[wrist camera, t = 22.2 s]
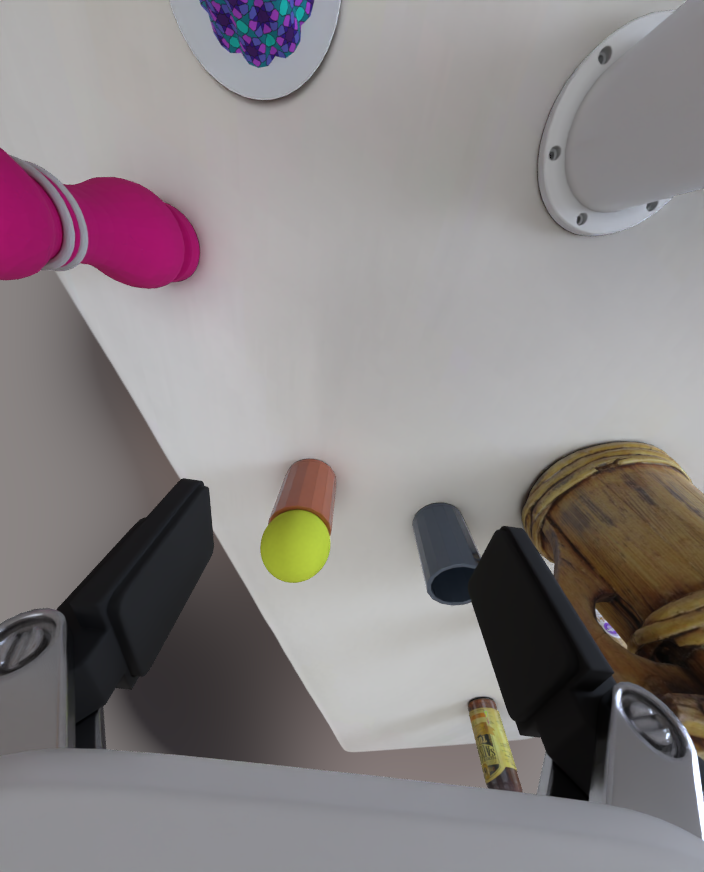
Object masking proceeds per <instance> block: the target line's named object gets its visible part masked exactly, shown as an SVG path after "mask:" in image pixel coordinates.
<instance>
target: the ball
mask: <svg viewBox="0 0 704 872" xmlns="http://www.w3.org/2000/svg"><path fill="white" fill-rule="evenodd" d="M260 550H261V557H262V561H263V563H264V565H265V567H266V568H267V570H268V571H269V572H270V573H271V574H272V575H273V576H274V577H276V578H277V579H279V580H281V581H284V582H290V583H297V582H302V581H305V580H308V579H310V578H311V577H313V576H314V575H316V574H317V573H318V572H319V571H320V570H321V569H322V567H323V566H324V564H325V562H326V561H327V558H328V555H329V551H330V536H329V532H328V530H327V528H326V526H325V524H324V523H323V521H322V520H321V519H320V518H319V517H318V516H316V515H315V514H313V513H311V512H309V511H305V510H290V511H286V512H284V513H282V514H280V515H278V516H277V517H275V518H274V519H273V520H272V521H271V522H270V523H269V525H268V526H267V528H266V529H265V531H264V533H263V536H262V540H261V547H260Z"/></svg>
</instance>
